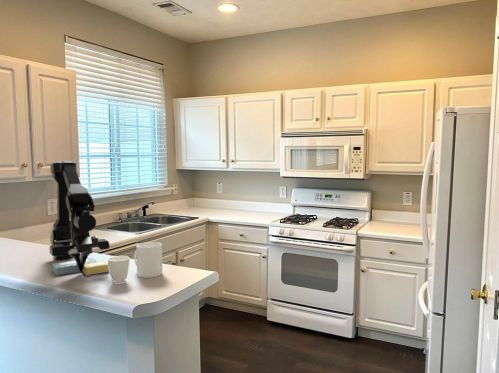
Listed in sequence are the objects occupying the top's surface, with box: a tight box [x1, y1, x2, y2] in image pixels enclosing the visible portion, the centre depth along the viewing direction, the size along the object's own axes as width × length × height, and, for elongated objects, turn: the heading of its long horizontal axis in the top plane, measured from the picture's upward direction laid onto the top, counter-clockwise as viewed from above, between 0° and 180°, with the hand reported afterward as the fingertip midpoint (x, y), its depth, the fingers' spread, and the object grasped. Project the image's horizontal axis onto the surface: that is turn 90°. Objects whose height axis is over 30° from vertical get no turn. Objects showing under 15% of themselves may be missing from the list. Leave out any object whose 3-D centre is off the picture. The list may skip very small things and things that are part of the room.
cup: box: [107, 255, 131, 285], centre depth 129 cm, size 7×10×8 cm
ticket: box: [51, 257, 98, 276], centre depth 143 cm, size 8×14×3 cm, turn 126°
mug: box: [133, 241, 163, 279], centre depth 137 cm, size 9×12×11 cm
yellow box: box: [82, 260, 109, 276], centre depth 140 cm, size 6×8×3 cm
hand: (81, 270), depth 137 cm, fingers closed
